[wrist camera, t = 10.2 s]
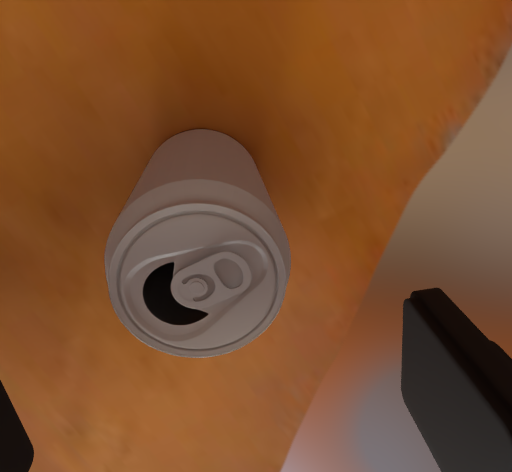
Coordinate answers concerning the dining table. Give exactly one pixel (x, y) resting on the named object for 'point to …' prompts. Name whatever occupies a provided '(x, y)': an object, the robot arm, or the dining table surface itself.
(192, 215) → the beverage can
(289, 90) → the dining table surface
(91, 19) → the dining table surface
